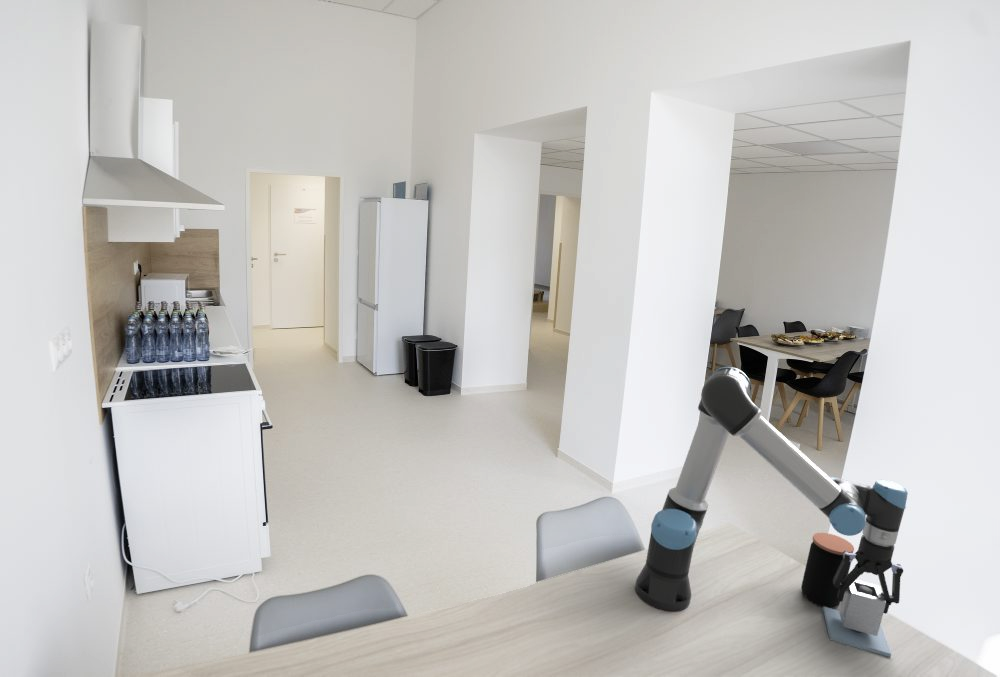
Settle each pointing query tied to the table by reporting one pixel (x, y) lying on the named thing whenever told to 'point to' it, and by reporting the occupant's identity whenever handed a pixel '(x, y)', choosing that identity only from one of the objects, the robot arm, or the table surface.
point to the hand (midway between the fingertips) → (858, 616)
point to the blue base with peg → (855, 632)
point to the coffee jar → (824, 569)
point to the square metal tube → (863, 608)
